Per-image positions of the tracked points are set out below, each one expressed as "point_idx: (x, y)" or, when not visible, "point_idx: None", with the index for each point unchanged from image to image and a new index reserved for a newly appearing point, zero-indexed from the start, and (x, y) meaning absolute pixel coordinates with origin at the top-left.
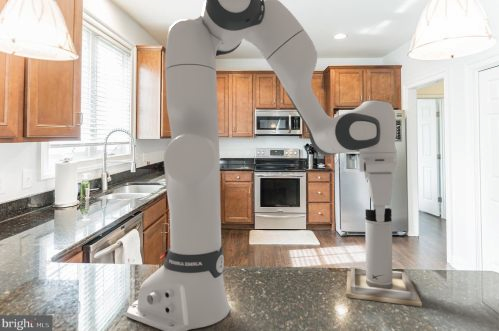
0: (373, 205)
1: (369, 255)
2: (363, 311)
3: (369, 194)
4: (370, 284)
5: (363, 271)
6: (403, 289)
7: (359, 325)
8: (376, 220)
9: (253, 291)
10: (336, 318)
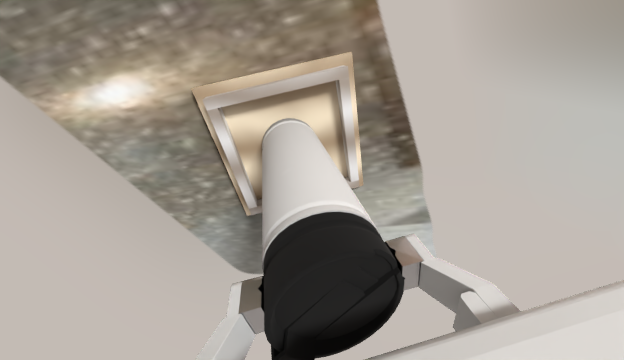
0: (446, 275)
1: (267, 160)
2: (152, 137)
3: (591, 321)
4: (265, 133)
5: (340, 102)
6: None
7: (86, 143)
8: (236, 283)
9: None
10: (67, 94)
